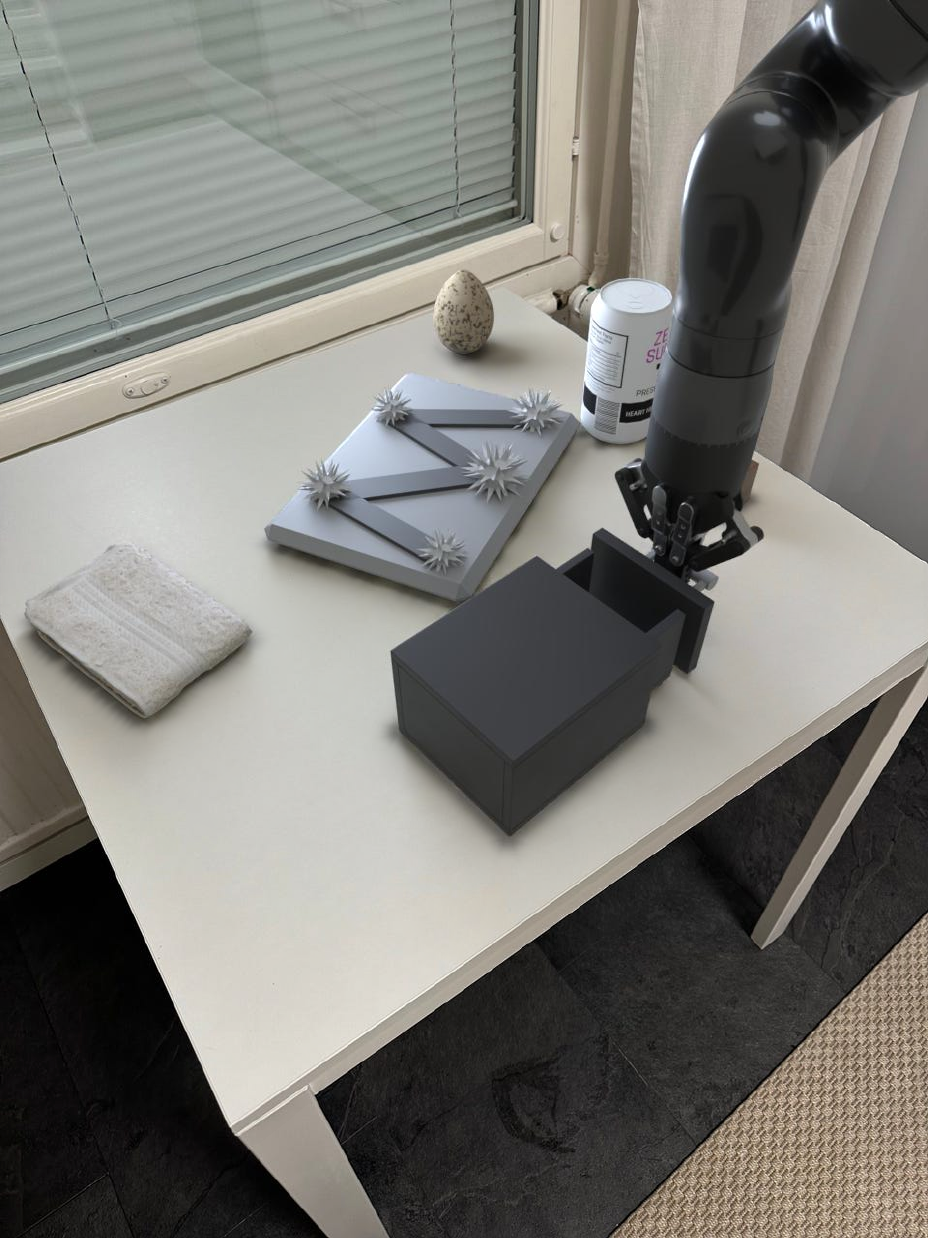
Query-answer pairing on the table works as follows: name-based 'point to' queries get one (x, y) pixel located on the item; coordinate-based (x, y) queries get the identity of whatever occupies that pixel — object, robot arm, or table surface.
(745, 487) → the block
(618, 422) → the supplement can
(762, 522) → the table surface
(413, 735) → the cabinet
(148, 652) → the washcloth
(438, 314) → the decorative egg
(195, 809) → the table surface
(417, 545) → the grey zigzag star board
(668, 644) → the drawer
